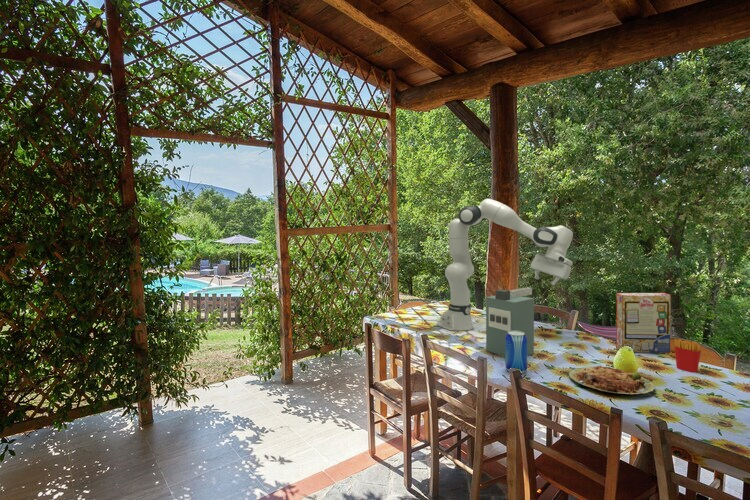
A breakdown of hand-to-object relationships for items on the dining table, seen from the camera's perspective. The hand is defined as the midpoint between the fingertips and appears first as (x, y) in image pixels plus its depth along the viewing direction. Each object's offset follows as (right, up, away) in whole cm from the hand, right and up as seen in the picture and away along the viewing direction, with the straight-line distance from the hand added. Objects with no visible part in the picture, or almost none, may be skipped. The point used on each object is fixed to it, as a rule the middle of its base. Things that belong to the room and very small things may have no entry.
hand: (544, 281), depth 196 cm
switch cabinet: (-23, -32, -16) cm, 43 cm away
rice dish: (+2, -34, -52) cm, 62 cm away
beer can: (-29, -34, -38) cm, 59 cm away
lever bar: (-21, -6, -15) cm, 26 cm away
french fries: (+39, -32, -41) cm, 66 cm away
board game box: (+37, -31, -19) cm, 52 cm away
